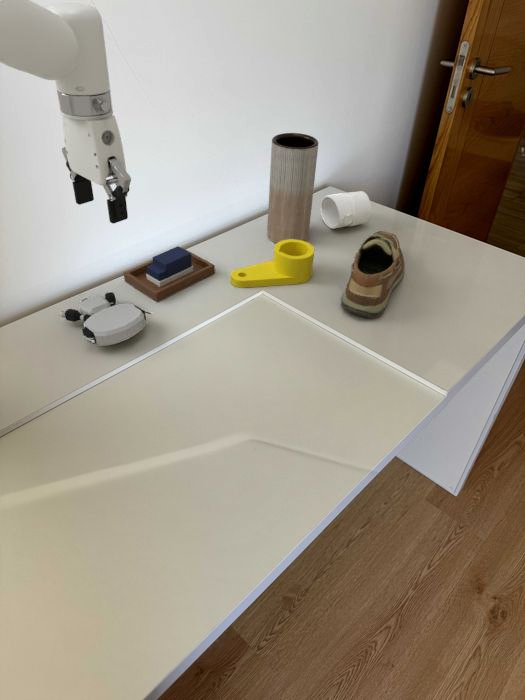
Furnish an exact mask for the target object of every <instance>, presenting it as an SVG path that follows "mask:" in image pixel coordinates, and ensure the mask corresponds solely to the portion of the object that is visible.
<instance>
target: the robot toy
mask: <svg viewBox="0 0 525 700" xmlns="http://www.w3.org/2000/svg"><path fill="white" fill-rule="evenodd" d="M78 304H79V305H78V308H79V310H78V309H73V308H68V309H62V310H61V311H60V312H59V313H58V316H59V317H61V318H65V320H66V321H69V322H72V323H73V322H74V323H75V322H78V321H83V322H84V323H83V328H82V329H81V330H82V335H83V336H82V339H83V340H84V341H87V342H89V343H91V344H92V345H95V344H96V345H97V346H98V347H100V346H101V347H102V346H103V347H105V346H106V347H108V346H113V345H116V344H119V343H121V342H124V341H126V340H129V339H130V338H132V337H134V336H136V335H137V334H139V332H141V331H142V330H143V329H144V328H145V326H146V320H147V314H148V315H151V316H154V315H155V313H154V312H153V311H152V312H151V311H148V310H145V309H144V308H141V307H139V306H138V305H135V304H134V305H133V304H132V303H119V304H117V297H116V295H115V292H113V291H111V290H110V291H106V292H104V296H102V295H89V296H88V297H85V298H83V299H82V298H81V299H80V300H79V301H78Z"/></svg>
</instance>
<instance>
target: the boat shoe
mask: <svg viewBox="0 0 525 700" xmlns="http://www.w3.org/2000/svg"><path fill="white" fill-rule="evenodd" d="M404 274H405V260H404V255H403V251H402V249H401V245H400V241H399V239H398V237H397V236H396V234H394V233H391V232H388V231H381V230H379V231H375V232H374V233H373V234H369V236H367V237H366V238H365V239H364V240H363V242H362V243H361V244H360V246H359V248H358V250H357V252H356V253H355V256H354V260H353V262H352V263H351V272H350V276H349V278H348V281H347V284H346V287H345V289H344V290H343V292H342V296H341V306H342V308H343V309H344V310H345V311H346V312H348V313H351V314H353V315H356V316H359V317H364V318H368V319H375V318H378V317H379V316H381V314H383V312H384V311H385V308H386V306H387V304H388V301H389V298H390V295H391V293H392V291H393V290H394V289H395V288H396V287H397V286H398V285H400V283H401V281H402V279H403V278H404Z"/></svg>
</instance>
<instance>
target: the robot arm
mask: <svg viewBox="0 0 525 700" xmlns="http://www.w3.org/2000/svg"><path fill="white" fill-rule="evenodd" d="M0 63H1V64H3V65H5V66H7V67H9V68H12V69H15V70H17V71H21V72H23V73H27V74H30V75H32V76H35V77H36V78H37V77H38V78H40V79H42V80H46V81H55V86H56V92H57V93H56V94H57V98H58V99H57V100H58V103H59V109H60V115H61V117H62V129H63V137H64V139H63V140H64V147H62V148H61V153H62V155H63V157H64V159H65V162H66V163H65V166H66V167H67V169H68V171H69V172H70V173H69V179H70V180H71V181H72V183H71V184H72V188H73V193H74V200H75V203H76V204H77V205H80V206H81V205H83V204H87V203H90V202H93V201H95V198H94V191H93V184H92V182H93V183H95V184H96V185H99V186H102V187H103V189H104V191H105V193H106V195H107V197H108V199H106V204H107V211H108V219H109V223H111V224H116V223H119V222H122V221H126V220H128V219H129V218H128V217H129V215H128V206H127V197H128V193H129V192H130V185H131V182H132V177H131V175H130V174H129V173H128V172H127V166H126V159H125V153H124V147H123V142H122V137H121V133H120V129H119V125H118V122H117V119H116V116H115V115H114V110H113V101H112V93H111V92H112V91H111V85H110V75H109V68H108V66H109V65H108V58H107V50H106V41H105V32H104V24H103V17H102V16H101V13H100V11H99V10H98V9H97V8H96V7H94V6H93V5H89V4H86V3H78V2H77V3H75V2H62V3H60V2H59V3H53V4H50V5H45V6H44V5H40V4H38V3H37V2H34V1H32V0H0ZM110 177H112V178H110ZM107 178H109V179H107ZM114 184H115V188H114V190H113V189H112V186H111V185H114Z"/></svg>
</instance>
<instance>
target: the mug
mask: <svg viewBox="0 0 525 700" xmlns="http://www.w3.org/2000/svg"><path fill="white" fill-rule="evenodd" d="M320 214H321V218H322V220H323V222H324V224H325V225H326V226H327V228H329V229H330V230H335V229H336V230H337V229H340V228H344V227H354V226H359V225H363V224H367V222H368V221H369V220H370V218H371V214H372V204H371V200H370V198H369V195H368V194H367V193H366V192H365V191H363V190H359V191H349V192H341V193H331V194H328V195H326V196H324V197H322V199H321V201H320Z"/></svg>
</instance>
